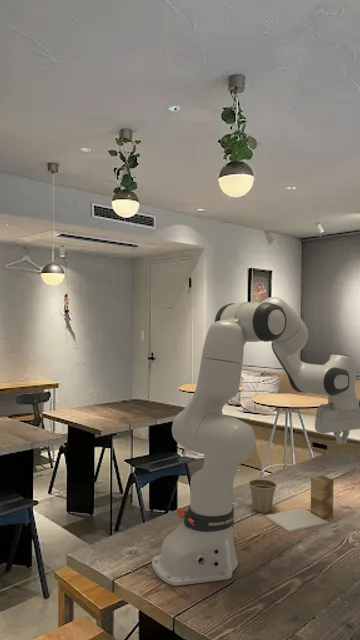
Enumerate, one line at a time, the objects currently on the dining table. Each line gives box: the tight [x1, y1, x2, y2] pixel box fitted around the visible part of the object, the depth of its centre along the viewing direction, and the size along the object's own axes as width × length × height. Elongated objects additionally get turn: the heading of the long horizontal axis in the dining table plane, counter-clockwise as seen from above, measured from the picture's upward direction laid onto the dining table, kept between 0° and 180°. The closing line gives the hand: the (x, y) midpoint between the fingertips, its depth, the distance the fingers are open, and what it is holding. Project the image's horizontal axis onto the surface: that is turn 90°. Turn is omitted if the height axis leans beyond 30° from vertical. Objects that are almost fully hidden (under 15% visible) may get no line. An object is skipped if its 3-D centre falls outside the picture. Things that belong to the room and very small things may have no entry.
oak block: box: [310, 475, 335, 520], centre depth 158 cm, size 5×5×12 cm
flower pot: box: [248, 478, 278, 513], centre depth 163 cm, size 9×9×9 cm
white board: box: [265, 507, 329, 533], centre depth 154 cm, size 15×12×1 cm
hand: (341, 443), depth 162 cm, fingers closed
